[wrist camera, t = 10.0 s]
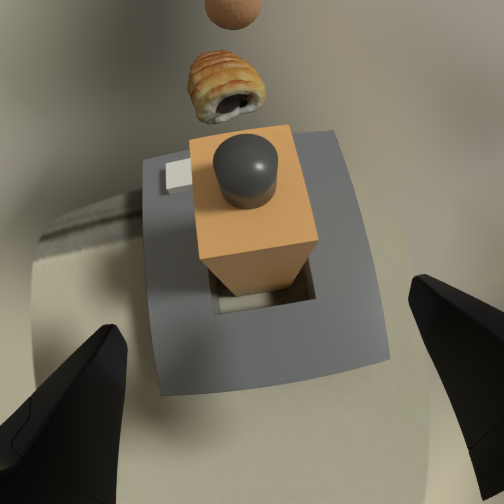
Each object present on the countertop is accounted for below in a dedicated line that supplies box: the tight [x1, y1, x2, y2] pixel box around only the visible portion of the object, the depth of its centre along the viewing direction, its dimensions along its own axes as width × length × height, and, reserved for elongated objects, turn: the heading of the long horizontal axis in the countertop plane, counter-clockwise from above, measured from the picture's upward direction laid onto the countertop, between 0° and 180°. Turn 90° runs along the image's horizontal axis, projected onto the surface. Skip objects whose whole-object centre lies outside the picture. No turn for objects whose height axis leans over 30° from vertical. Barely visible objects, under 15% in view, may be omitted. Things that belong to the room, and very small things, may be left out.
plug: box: [189, 125, 319, 297], centre depth 14 cm, size 4×4×13 cm
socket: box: [143, 130, 390, 396], centre depth 18 cm, size 16×14×4 cm
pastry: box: [187, 50, 266, 125], centre depth 23 cm, size 9×7×4 cm
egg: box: [205, 0, 261, 30], centre depth 24 cm, size 6×6×8 cm
